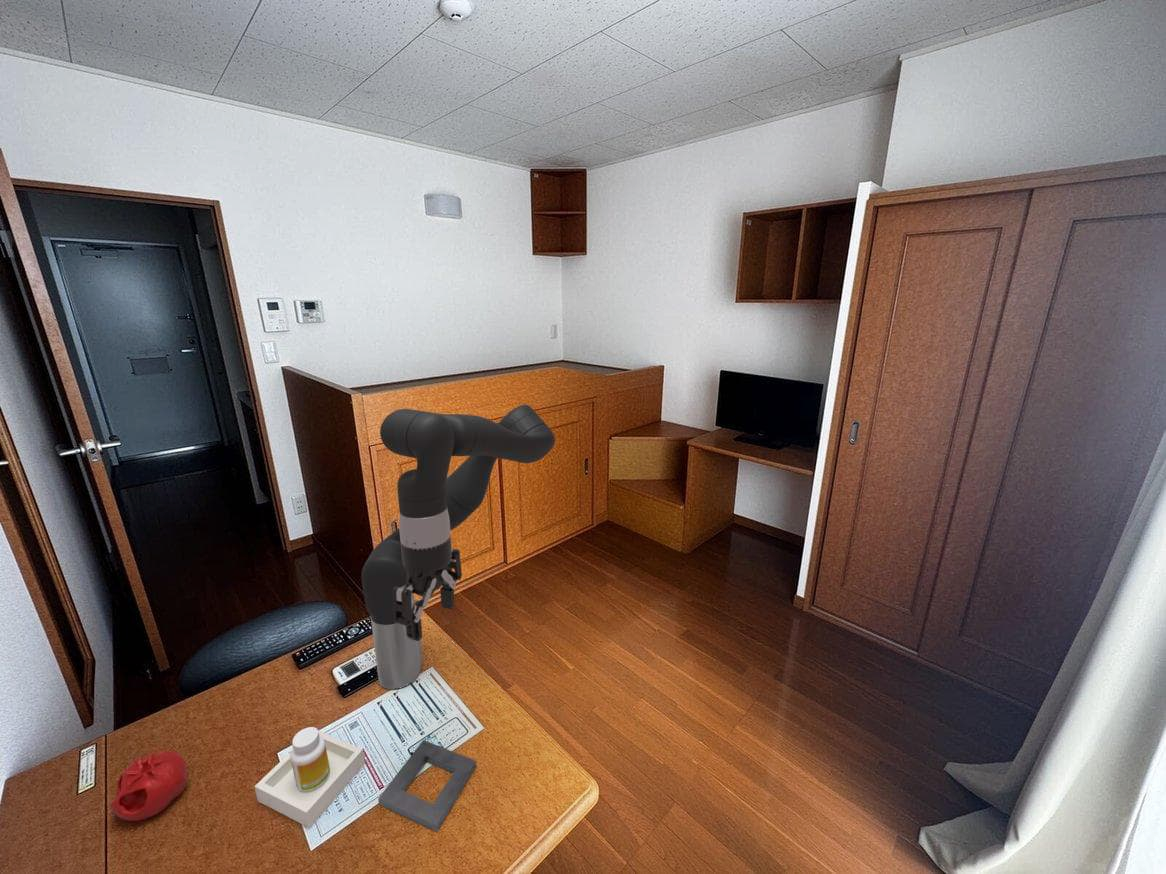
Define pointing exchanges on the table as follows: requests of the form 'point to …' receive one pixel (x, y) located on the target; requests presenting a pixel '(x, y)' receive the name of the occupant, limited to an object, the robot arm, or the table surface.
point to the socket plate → (437, 811)
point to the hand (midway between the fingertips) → (432, 622)
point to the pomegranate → (149, 785)
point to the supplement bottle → (309, 759)
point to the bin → (310, 805)
